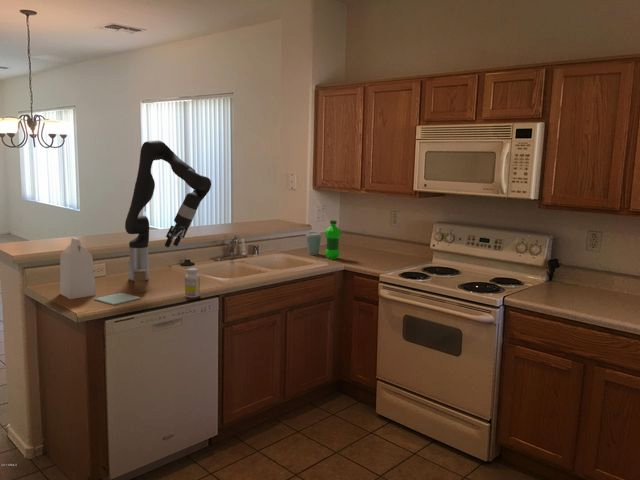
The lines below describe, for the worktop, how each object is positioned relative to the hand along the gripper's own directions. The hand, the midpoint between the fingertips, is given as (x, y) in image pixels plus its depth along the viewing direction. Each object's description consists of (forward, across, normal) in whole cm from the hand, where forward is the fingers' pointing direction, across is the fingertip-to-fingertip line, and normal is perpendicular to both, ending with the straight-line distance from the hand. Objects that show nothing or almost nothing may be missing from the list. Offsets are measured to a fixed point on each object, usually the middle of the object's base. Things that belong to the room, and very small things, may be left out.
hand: (170, 246), depth 250 cm
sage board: (+29, +15, -6) cm, 33 cm away
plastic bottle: (-14, -116, +57) cm, 130 cm away
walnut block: (+27, -2, -5) cm, 28 cm away
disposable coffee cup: (-8, -126, +43) cm, 134 cm away
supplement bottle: (+16, 0, +20) cm, 26 cm away
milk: (+38, +12, -26) cm, 48 cm away
